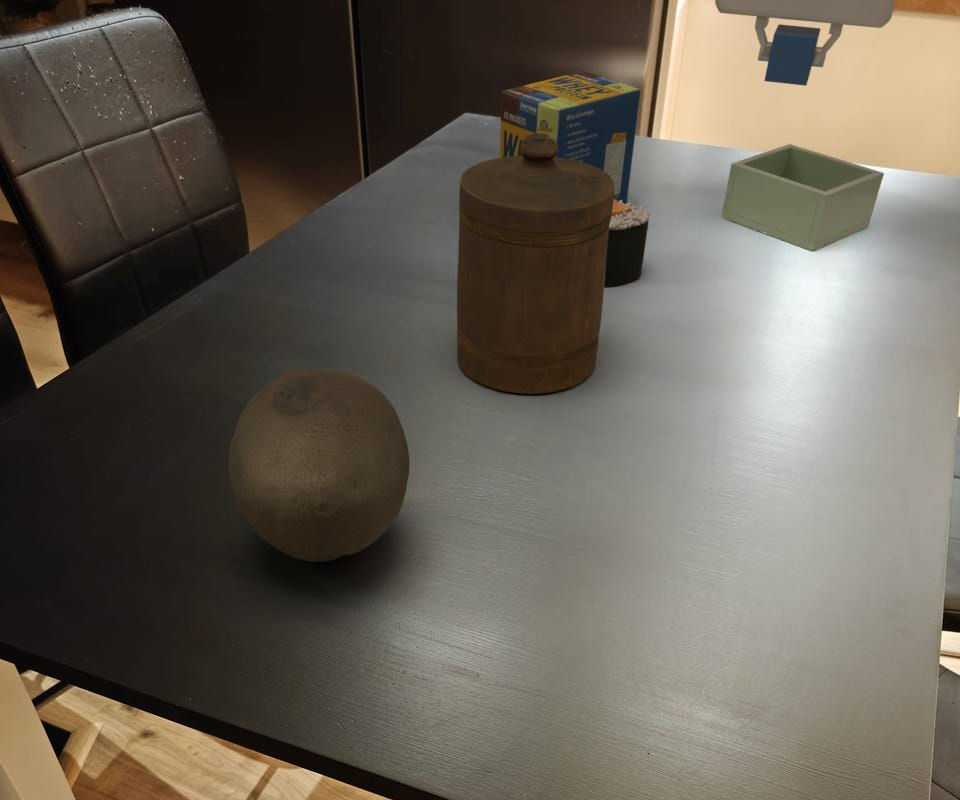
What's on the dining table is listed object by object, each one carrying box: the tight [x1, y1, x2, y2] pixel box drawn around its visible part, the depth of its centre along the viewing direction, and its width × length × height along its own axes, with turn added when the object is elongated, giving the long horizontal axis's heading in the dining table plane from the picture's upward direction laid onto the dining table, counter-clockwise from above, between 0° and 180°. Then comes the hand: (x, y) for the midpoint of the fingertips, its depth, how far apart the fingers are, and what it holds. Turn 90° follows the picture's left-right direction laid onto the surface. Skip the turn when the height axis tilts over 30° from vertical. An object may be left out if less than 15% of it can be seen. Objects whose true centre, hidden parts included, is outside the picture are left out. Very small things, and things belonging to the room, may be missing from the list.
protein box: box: [499, 70, 642, 204], centre depth 124 cm, size 10×15×16 cm
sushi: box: [604, 199, 651, 288], centre depth 113 cm, size 8×8×8 cm
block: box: [764, 23, 821, 87], centre depth 113 cm, size 5×5×5 cm
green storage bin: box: [721, 143, 885, 252], centre depth 126 cm, size 15×13×7 cm
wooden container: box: [456, 133, 614, 395], centre depth 92 cm, size 15×15×22 cm
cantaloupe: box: [228, 368, 410, 563], centre depth 71 cm, size 14×14×15 cm
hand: (790, 63), depth 113 cm, fingers closed on block, 5 cm apart
